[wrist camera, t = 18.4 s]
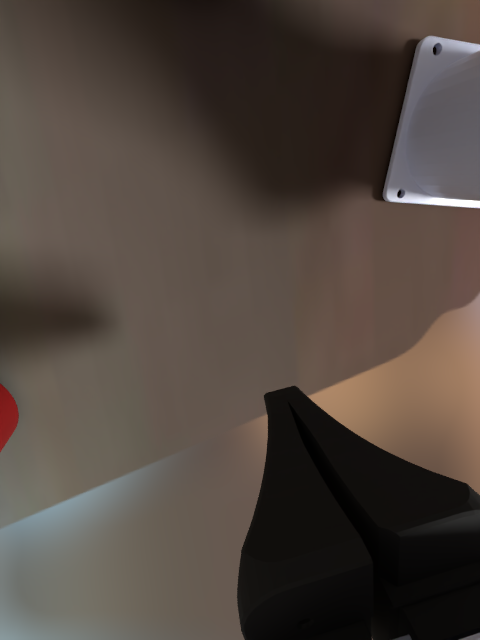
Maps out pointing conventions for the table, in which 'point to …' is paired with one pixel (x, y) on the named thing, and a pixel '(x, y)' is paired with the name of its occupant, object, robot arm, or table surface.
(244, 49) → the table surface
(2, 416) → the beverage can
